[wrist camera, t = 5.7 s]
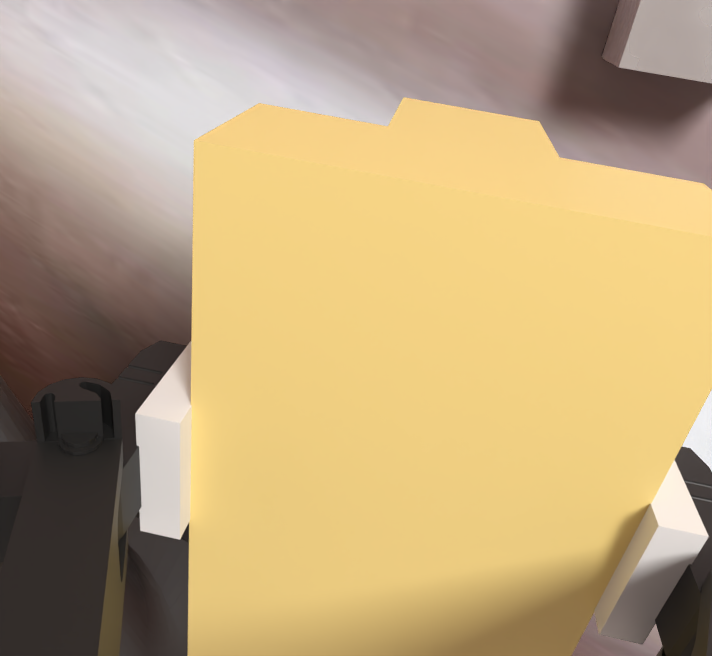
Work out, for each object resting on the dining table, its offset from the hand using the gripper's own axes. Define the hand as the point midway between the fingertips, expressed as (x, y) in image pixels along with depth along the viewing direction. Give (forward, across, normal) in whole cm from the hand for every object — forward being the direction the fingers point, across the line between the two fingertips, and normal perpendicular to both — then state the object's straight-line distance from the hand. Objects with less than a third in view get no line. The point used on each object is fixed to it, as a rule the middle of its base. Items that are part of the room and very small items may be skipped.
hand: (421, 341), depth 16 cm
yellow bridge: (+1, 0, 0) cm, 1 cm away
